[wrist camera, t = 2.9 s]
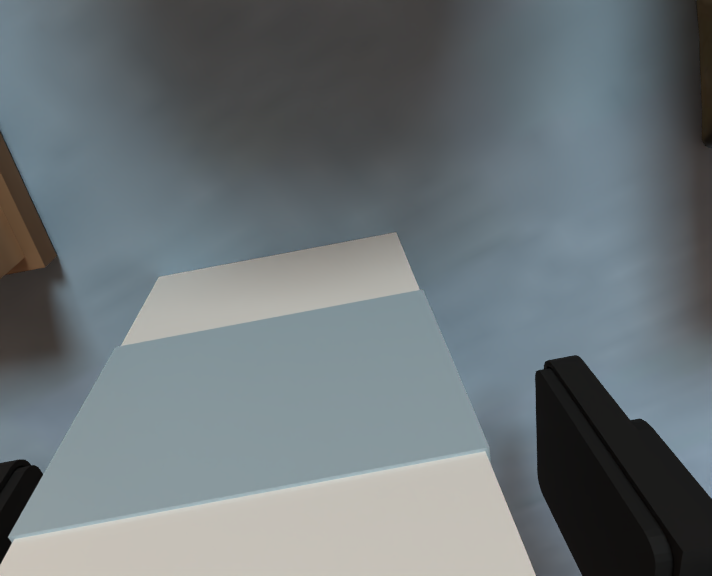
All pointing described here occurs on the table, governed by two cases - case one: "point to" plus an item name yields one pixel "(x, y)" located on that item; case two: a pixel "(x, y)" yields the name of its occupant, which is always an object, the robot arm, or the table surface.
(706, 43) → the beverage carton
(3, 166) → the plinth
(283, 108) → the table surface
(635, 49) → the table surface
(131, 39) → the table surface
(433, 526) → the slim carton
